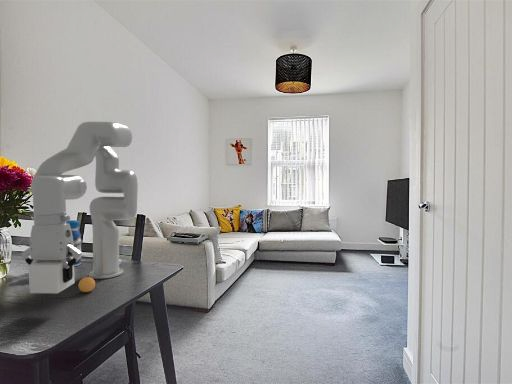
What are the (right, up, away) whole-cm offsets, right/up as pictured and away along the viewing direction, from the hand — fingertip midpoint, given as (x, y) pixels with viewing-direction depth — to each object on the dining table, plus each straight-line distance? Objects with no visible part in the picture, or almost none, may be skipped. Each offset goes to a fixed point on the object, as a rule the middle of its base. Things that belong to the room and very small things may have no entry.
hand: (53, 280), depth 87 cm
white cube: (0, -2, 0) cm, 2 cm away
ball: (0, -6, +17) cm, 18 cm away
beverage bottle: (-26, -8, +51) cm, 58 cm away
